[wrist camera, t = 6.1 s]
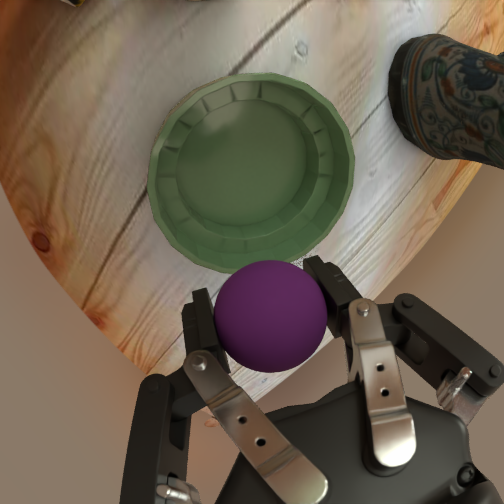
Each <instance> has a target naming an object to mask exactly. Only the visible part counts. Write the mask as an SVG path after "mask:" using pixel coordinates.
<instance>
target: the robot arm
mask: <svg viewBox="0 0 504 504" xmlns="http://www.w3.org/2000/svg"><path fill="white" fill-rule="evenodd" d="M303 270H304V271H305V272H306V273H308V274H309V275H310V276H311V277H312V278H313V279H314V280H315V282H316V283H317V284H318V286H319V287H320V289H321V291H322V293H323V295H324V298H325V302H326V306H327V326H328V328H329V330H330V331H331V333H332V335H333V336H334V338H338V337H341V336H342V338H343V339H344V351H345V359H346V366H347V375H348V383H347V384H345V385H342V386H340V387H338V388H335V389H334V390H332V391H331V392H329V393H328V394H327V395H325V396H324V397H322V398H321V399H320V400H318V401H317V402H315V403H311V404H304V405H294V406H287V407H284V408H281V409H278V410H275V411H272V412H268V413H265V414H264V413H263V412H262V411H261V410H260V408H258V406H257V405H256V404H255V403H254V401H253V400H252V399H251V398H250V397H249V396H248V394H247V393H246V392H245V391H244V390H243V389H242V388H241V387H240V386H238V385H237V384H236V383H235V382H234V381H233V380H232V378H231V377H230V376H229V375H228V374H229V373H231V371H230V368H229V364H228V360H227V356H226V352H225V350H224V349H223V347H222V345H221V342H220V339H219V336H218V333H217V330H216V326H215V322H214V317H213V316H214V307H213V304H212V302H211V299H210V296H209V293H208V290H207V288H202V289H199V290H195V291H192V296H193V302H192V303H188V304H185V305H184V307H183V310H182V313H181V314H182V322H183V329H184V330H183V332H184V340H185V348H186V358H185V360H184V363H183V365H182V366H181V367H180V368H179V369H178V370H177V371H175V372H173V373H171V374H170V375H168V376H166V377H165V376H164V375H162V374H152V375H149V376H147V377H146V378H145V379H144V380H143V381H142V382H141V384H140V388H139V392H138V397H137V401H136V406H135V411H134V416H133V421H132V426H131V431H130V436H129V442H128V448H127V454H126V460H125V466H124V473H123V480H122V487H121V495H120V503H119V504H202V503H201V501H200V496H199V492H198V490H197V489H196V488H195V487H194V486H193V485H192V484H190V483H188V482H186V474H187V461H188V449H189V437H190V426H191V415H192V414H193V413H195V412H197V411H198V410H200V409H202V408H204V407H205V406H208V408H209V409H210V411H211V412H212V413H213V415H214V416H215V418H216V419H217V420H218V422H219V423H220V425H221V426H222V427H223V429H224V430H225V431H226V433H227V434H228V435H229V437H230V438H231V439H232V441H233V442H234V443H235V445H236V446H237V447H238V448H239V449H240V452H239V454H238V457H237V459H236V461H235V463H234V465H233V467H232V470H231V472H230V474H229V476H228V478H227V480H226V482H225V484H224V486H223V488H222V490H221V492H220V494H219V496H218V498H217V500H216V502H215V504H504V503H503V502H502V499H501V498H500V496H499V493H498V492H497V490H496V488H495V486H494V485H493V483H492V482H491V481H490V480H489V479H488V478H487V477H485V476H484V475H483V474H482V473H481V472H480V471H479V470H478V469H477V468H476V467H475V466H474V464H473V462H472V459H471V455H470V448H469V433H468V429H467V426H468V424H469V423H470V422H471V420H472V419H473V418H474V416H475V415H476V414H477V412H478V411H479V409H480V408H481V406H482V405H483V404H484V403H485V402H486V401H487V399H489V398H490V397H491V395H493V393H494V392H495V391H496V390H497V389H498V388H499V387H500V386H501V385H502V384H503V383H504V365H503V364H502V363H501V362H500V361H499V360H498V359H497V358H495V357H494V356H493V355H492V354H491V353H489V352H488V351H487V350H486V349H484V348H483V347H482V346H481V345H479V344H478V343H477V342H476V341H474V340H473V339H472V338H471V337H469V336H468V335H467V334H466V333H464V332H463V331H462V330H460V329H459V328H458V327H456V326H455V325H454V324H452V323H451V322H450V321H449V320H447V319H446V318H444V317H443V316H442V315H441V314H439V313H438V312H436V311H435V310H434V309H432V308H431V307H430V306H428V305H427V304H426V303H424V302H423V301H421V300H420V299H419V298H417V297H416V296H414V295H412V294H408V293H403V294H400V295H398V296H397V297H396V298H395V299H394V303H389V304H376V303H375V302H374V301H372V300H370V299H367V298H363V297H362V296H361V295H360V293H359V292H358V291H357V290H356V288H355V287H354V286H353V285H352V283H351V282H350V281H349V280H348V279H347V277H346V276H345V275H344V274H343V272H342V271H341V270H340V268H339V267H338V266H336V265H334V264H333V263H331V262H327V263H324V262H323V261H322V260H321V258H320V257H319V256H318V255H316V256H312V257H309V258H306V259H303ZM414 333H415V334H414ZM419 337H420V338H419ZM396 355H397V356H398V357H399V358H400V359H402V360H403V361H404V362H405V363H406V364H407V365H408V366H410V367H411V368H412V369H413V370H414V371H415V372H416V373H418V374H419V375H420V376H421V377H422V378H423V379H424V380H425V381H426V382H428V383H429V384H430V385H431V386H432V387H433V388H434V389H436V395H437V399H438V404H439V405H440V406H442V407H443V409H444V410H442V409H440V408H437V407H434V406H431V405H429V404H426V403H423V402H420V401H418V400H415V399H412V398H410V397H407V396H405V393H404V388H403V384H402V379H401V375H400V370H399V366H398V362H397V358H396Z"/></svg>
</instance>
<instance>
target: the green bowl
mask: <svg viewBox="0 0 504 504" xmlns="http://www.w3.org/2000/svg"><path fill="white" fill-rule="evenodd" d="M354 166H355V155H354V151H353V146H352V142H351V138H350V134H349V130H348V128H347V126H346V125H345V123H344V121H343V120H342V118H341V117H340V115H339V114H338V112H337V110H336V109H335V107H334V106H333V104H332V103H331V102H330V101H329V100H327V99H326V98H325V97H324V96H322V95H321V94H320V93H318V92H317V91H316V90H314V89H313V88H312V87H310V86H309V85H308V84H306V83H304V82H301V81H298V80H295V79H292V78H289V77H286V76H282V75H279V74H276V73H249V74H235V75H230V76H226V77H221V78H219V79H216V80H214V81H212V82H209V83H207V84H205V85H202V86H200V87H198V88H196V89H194V90H192V91H191V92H190V93H189V94H188V95H187V96H185V97H184V98H183V99H182V100H181V101H180V102H179V103H178V104H177V105H176V106H175V107H174V108H173V109H171V110H170V112H169V113H168V115H167V117H166V119H165V120H164V122H163V124H162V126H161V128H160V130H159V132H158V134H157V136H156V138H155V140H154V144H153V147H152V151H151V156H150V163H149V171H148V179H147V191H148V196H149V200H150V205H151V209H152V213H153V217H154V220H155V222H156V223H157V225H158V226H159V228H160V230H161V231H162V233H163V234H164V236H165V237H166V239H167V240H168V242H169V243H170V245H171V246H172V247H174V248H175V249H176V250H178V251H179V252H180V253H181V254H183V255H184V256H185V257H187V258H188V259H189V260H191V261H192V262H193V263H195V264H197V265H200V266H203V267H206V268H209V269H212V270H215V271H218V272H221V273H229V274H234V273H235V272H236V271H238V270H239V269H241V268H242V267H244V266H246V265H248V264H251V263H254V262H258V261H264V260H278V261H283V262H287V263H291V262H293V261H295V260H297V259H298V258H300V257H302V256H304V255H306V254H307V253H308V252H309V251H310V250H312V249H313V248H314V247H315V246H316V245H317V244H319V243H320V242H321V241H322V240H323V239H324V238H325V237H326V236H327V235H328V234H329V232H330V231H331V230H332V228H333V227H334V225H335V224H336V223H337V221H338V220H339V218H340V217H341V215H342V214H343V212H344V209H345V207H346V204H347V201H348V199H349V196H350V193H351V190H352V188H353V179H354Z"/></svg>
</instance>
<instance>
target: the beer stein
mask: <svg viewBox="0 0 504 504" xmlns="http://www.w3.org/2000/svg"><path fill="white" fill-rule="evenodd" d="M388 96H389V100H390V104H391V109H392V113H393V118H394V120H395V121H396V123H397V125H398V126H399V128H400V130H401V132H402V133H403V135H404V137H405V138H406V139H407V140H409V141H410V142H412V143H413V144H414V145H416V146H417V147H419V148H420V149H421V150H423V151H424V152H426V153H427V154H428V155H430V156H432V157H434V158H437V159H441V160H450V159H463V160H469V161H475V162H479V163H483V164H487V165H491V166H494V167H497V168H500V169H503V170H504V52H502V53H500V54H499V55H497V56H496V55H494V54H491V53H488V52H485V51H482V50H479V49H476V48H473V47H470V46H468V45H465V44H462V43H460V42H458V41H455V40H453V39H452V38H450V37H447V36H445V35H441V34H428V35H424V36H421V37H417V38H411V39H410V40H408V41H407V42H406V43H404V44H403V45H401V47H400V48H399V49H398V51H397V52H396V54H395V56H394V59H393V62H392V65H391V68H390V71H389V84H388Z"/></svg>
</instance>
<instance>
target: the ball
mask: <svg viewBox="0 0 504 504" xmlns="http://www.w3.org/2000/svg"><path fill="white" fill-rule="evenodd" d="M213 317H214V322H215V326H216V330H217V333H218V336H219V339H220V342H221V345H222V347H223V349H224V350H225V351H226V352H227V354H228V355H229V356H230V357H231V358H233V359H234V360H235V361H236V362H237V363H239V364H241V365H242V366H244V367H246V368H249V369H251V370H254V371H258V372H265V373H274V372H282V371H286V370H289V369H292V368H294V367H296V366H298V365H300V364H301V363H303V362H304V361H306V360H307V359H308V358H309V357H310V356H311V355H312V354H313V353H314V352H315V351H316V349H317V348H318V346H319V345H320V343H321V341H322V339H323V336H324V334H325V331H326V326H327V306H326V302H325V298H324V295H323V293H322V291H321V289H320V287H319V286H318V284H317V283H316V282H315V280H314V279H313V278H312V277H311V276H310V275H309V274H308V273H306V272H305V271H304V270H302V269H301V268H299V267H297V266H295V265H293V264H291V263H287V262H283V261H278V260H264V261H258V262H254V263H251V264H248V265H246V266H244V267H242V268H241V269H239V270H238V271H236V272H235V273H234V274H233V275H232V276H231V277H230V278H229V279H228V280H227V281H226V282H225V283H224V285H223V286H222V288H221V290H220V292H219V294H218V296H217V299H216V302H215V306H214V316H213Z"/></svg>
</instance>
